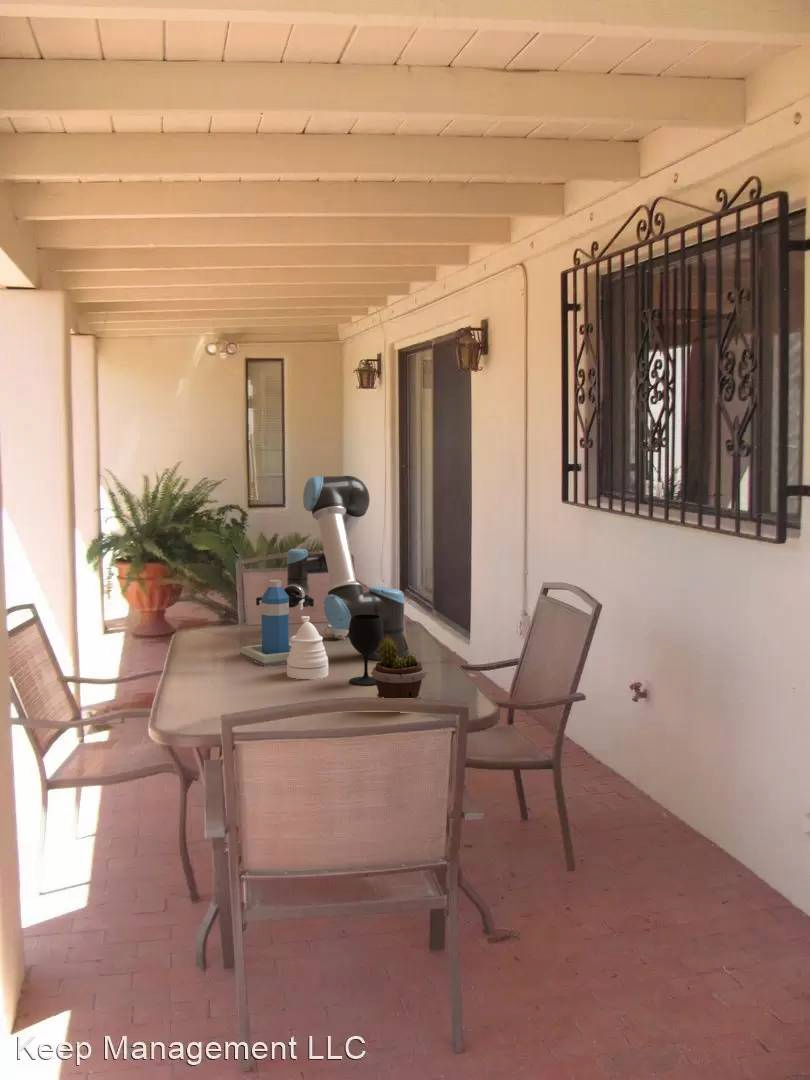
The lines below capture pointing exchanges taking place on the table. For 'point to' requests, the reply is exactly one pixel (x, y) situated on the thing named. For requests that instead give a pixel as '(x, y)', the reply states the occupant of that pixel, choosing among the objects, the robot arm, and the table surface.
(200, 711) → the table surface
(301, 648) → the honey pot
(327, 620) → the robot arm
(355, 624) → the wine glass
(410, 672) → the flowerpot
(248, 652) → the pale green tray
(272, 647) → the water bottle
